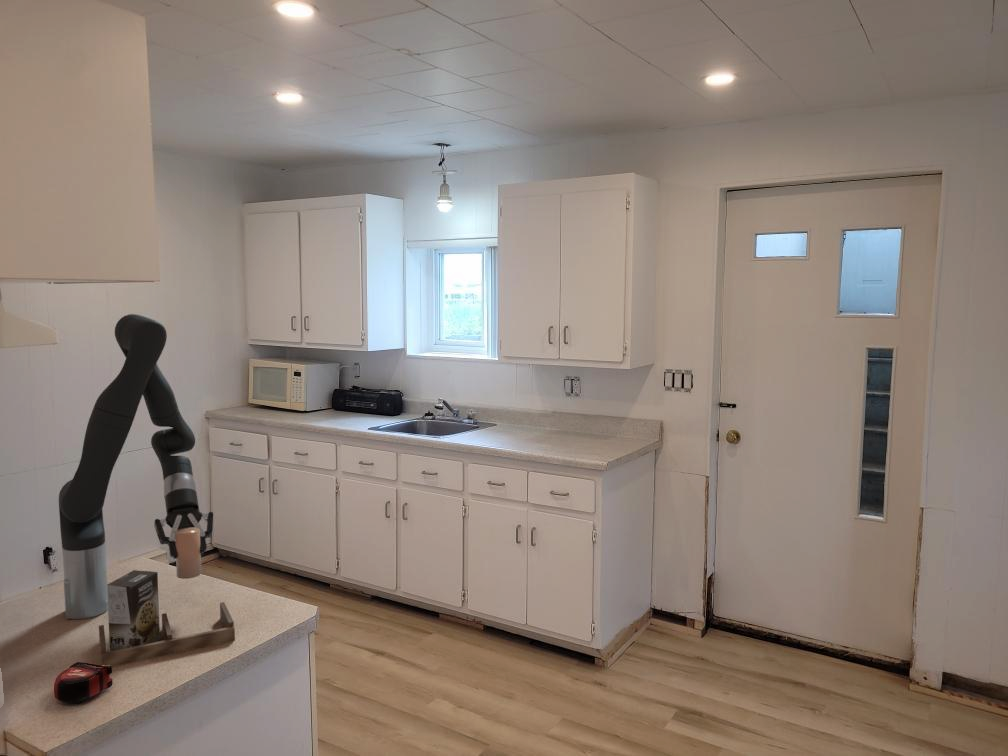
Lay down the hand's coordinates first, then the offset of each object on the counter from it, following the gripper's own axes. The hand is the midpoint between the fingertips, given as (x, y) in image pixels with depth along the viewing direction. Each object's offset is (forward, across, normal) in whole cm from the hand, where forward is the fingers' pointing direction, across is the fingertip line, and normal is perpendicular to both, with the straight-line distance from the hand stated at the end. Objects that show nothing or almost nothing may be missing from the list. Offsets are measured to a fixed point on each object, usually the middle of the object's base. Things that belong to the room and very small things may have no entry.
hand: (189, 554), depth 181 cm
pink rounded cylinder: (+3, 0, +4) cm, 5 cm away
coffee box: (+19, -13, +4) cm, 23 cm away
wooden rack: (+19, -7, +3) cm, 20 cm away
